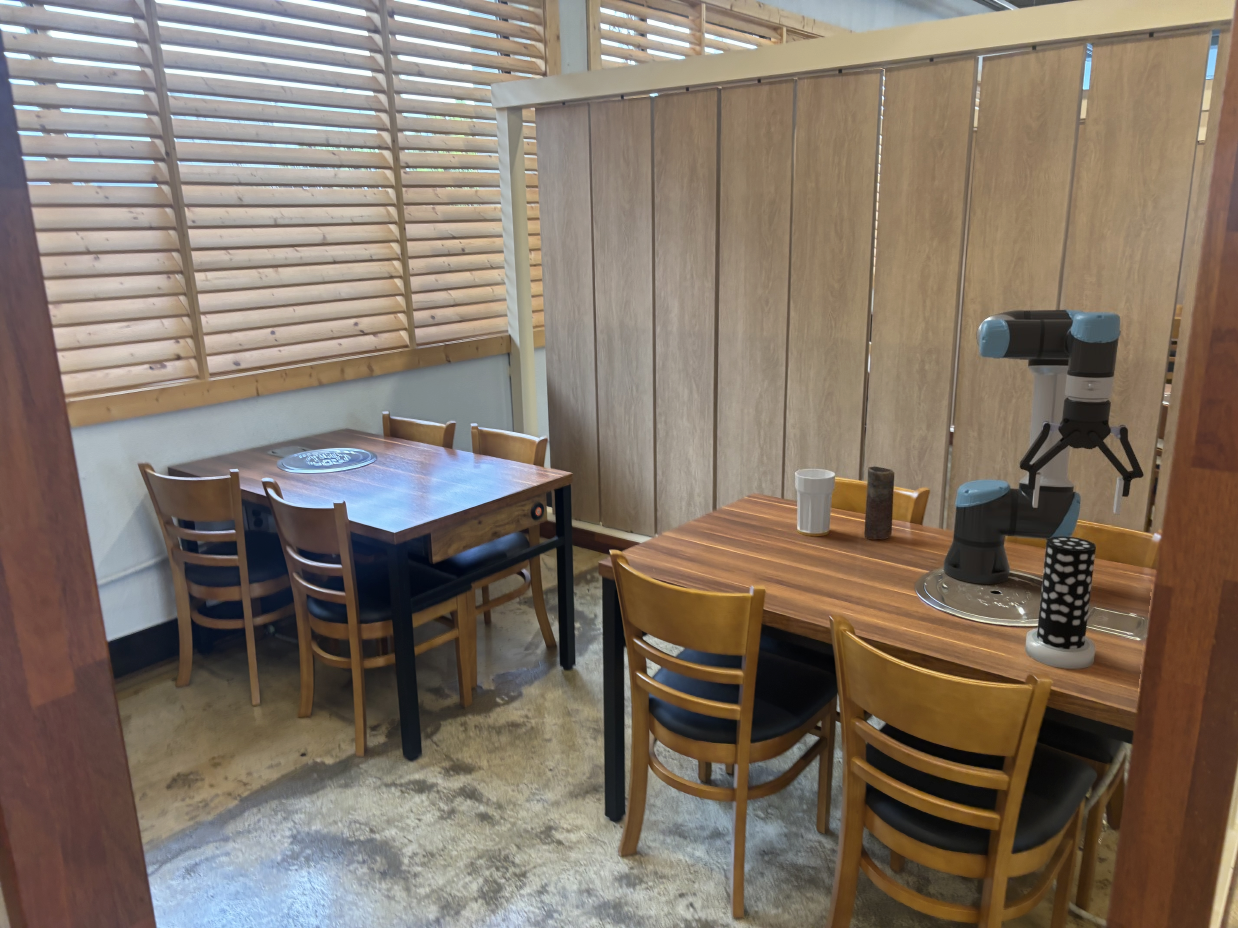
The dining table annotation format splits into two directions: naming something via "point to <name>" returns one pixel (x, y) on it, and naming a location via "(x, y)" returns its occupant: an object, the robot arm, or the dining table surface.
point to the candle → (879, 503)
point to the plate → (1059, 653)
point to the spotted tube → (1066, 592)
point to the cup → (814, 501)
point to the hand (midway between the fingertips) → (1074, 509)
